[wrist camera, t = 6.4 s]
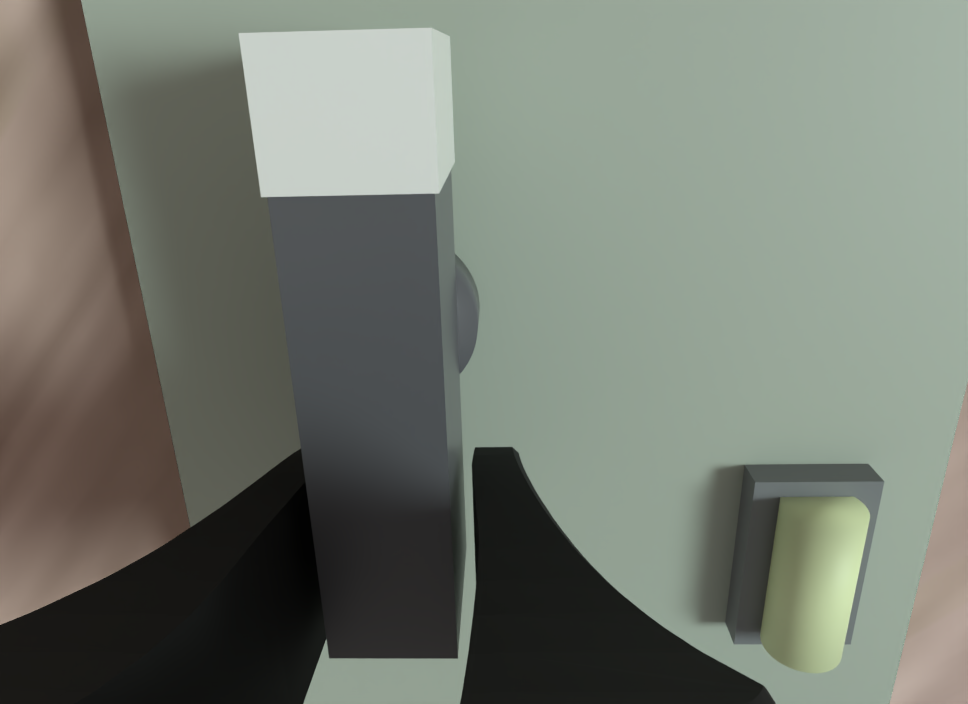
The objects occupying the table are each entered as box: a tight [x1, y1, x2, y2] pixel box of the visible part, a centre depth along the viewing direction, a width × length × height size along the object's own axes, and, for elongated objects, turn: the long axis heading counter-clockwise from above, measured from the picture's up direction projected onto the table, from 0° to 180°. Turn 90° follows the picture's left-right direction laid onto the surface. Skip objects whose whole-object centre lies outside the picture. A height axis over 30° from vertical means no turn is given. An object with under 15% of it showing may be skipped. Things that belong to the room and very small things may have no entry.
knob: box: [239, 28, 480, 659], centre depth 10 cm, size 8×2×4 cm, turn 1°
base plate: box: [81, 0, 968, 704], centre depth 14 cm, size 24×14×3 cm, turn 1°
